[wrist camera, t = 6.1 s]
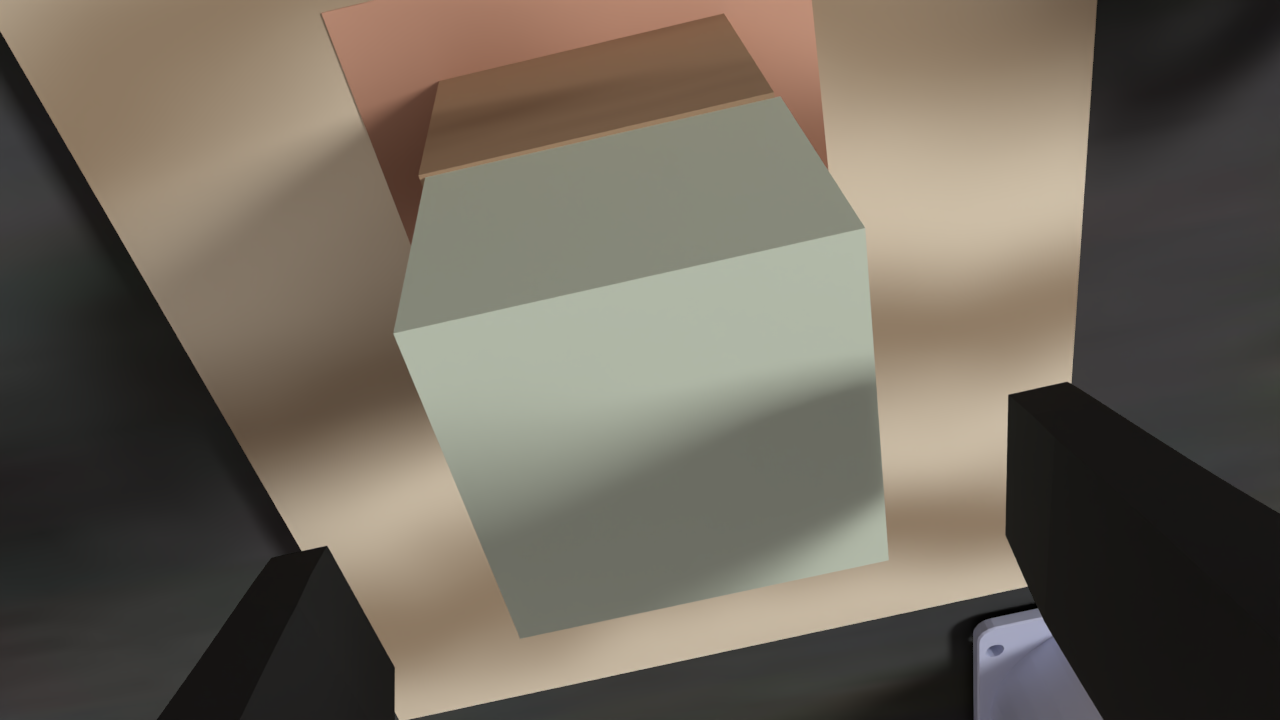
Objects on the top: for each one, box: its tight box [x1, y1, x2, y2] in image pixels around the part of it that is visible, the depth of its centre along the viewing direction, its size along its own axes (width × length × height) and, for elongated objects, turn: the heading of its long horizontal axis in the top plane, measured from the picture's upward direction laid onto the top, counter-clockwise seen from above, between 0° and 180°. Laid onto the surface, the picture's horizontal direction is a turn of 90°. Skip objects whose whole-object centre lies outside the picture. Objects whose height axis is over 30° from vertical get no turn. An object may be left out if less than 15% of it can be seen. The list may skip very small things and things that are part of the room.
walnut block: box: [418, 14, 775, 187], centre depth 16 cm, size 5×5×4 cm
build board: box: [0, 0, 1097, 720], centre depth 21 cm, size 20×18×1 cm
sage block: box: [393, 96, 889, 639], centre depth 13 cm, size 5×5×4 cm
